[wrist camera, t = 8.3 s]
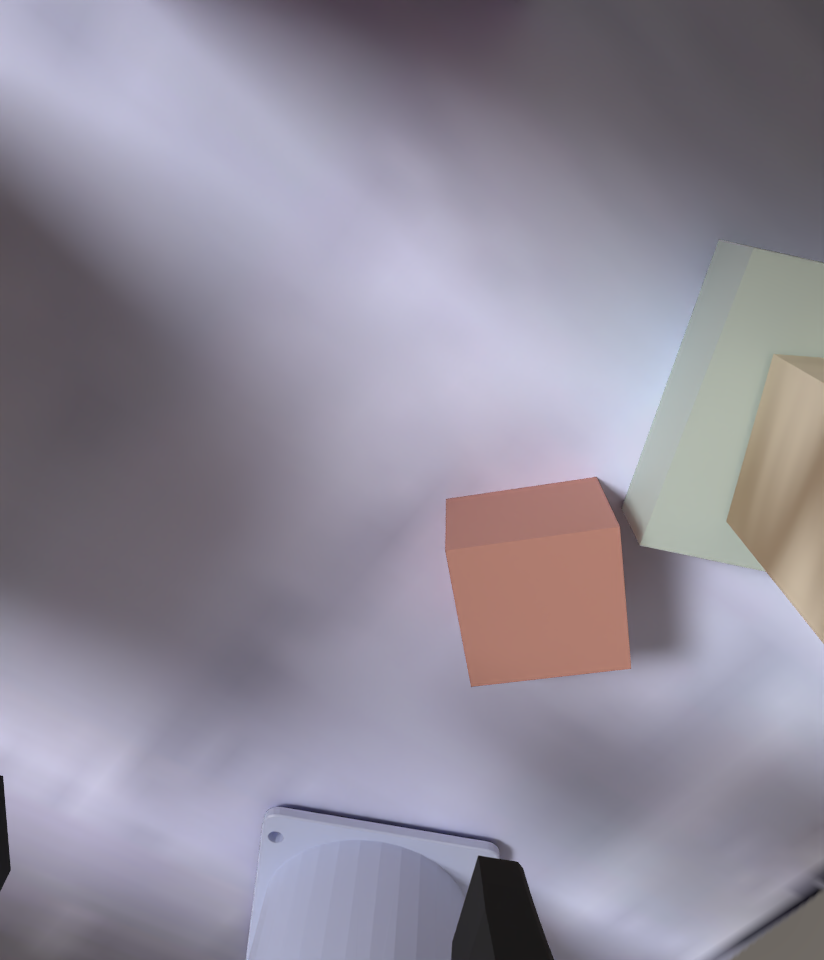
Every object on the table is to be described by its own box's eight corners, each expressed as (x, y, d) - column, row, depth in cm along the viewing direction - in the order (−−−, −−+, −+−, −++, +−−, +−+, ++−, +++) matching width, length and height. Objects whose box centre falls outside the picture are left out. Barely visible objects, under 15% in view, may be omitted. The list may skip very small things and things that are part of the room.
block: (607, 601, 20) (631, 668, 18) (468, 618, 21) (471, 686, 18) (595, 474, 19) (619, 526, 16) (445, 496, 19) (445, 550, 17)
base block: (862, 552, 20) (917, 602, 17) (617, 501, 19) (639, 545, 17) (996, 300, 17) (1081, 321, 15) (711, 237, 17) (753, 247, 14)
